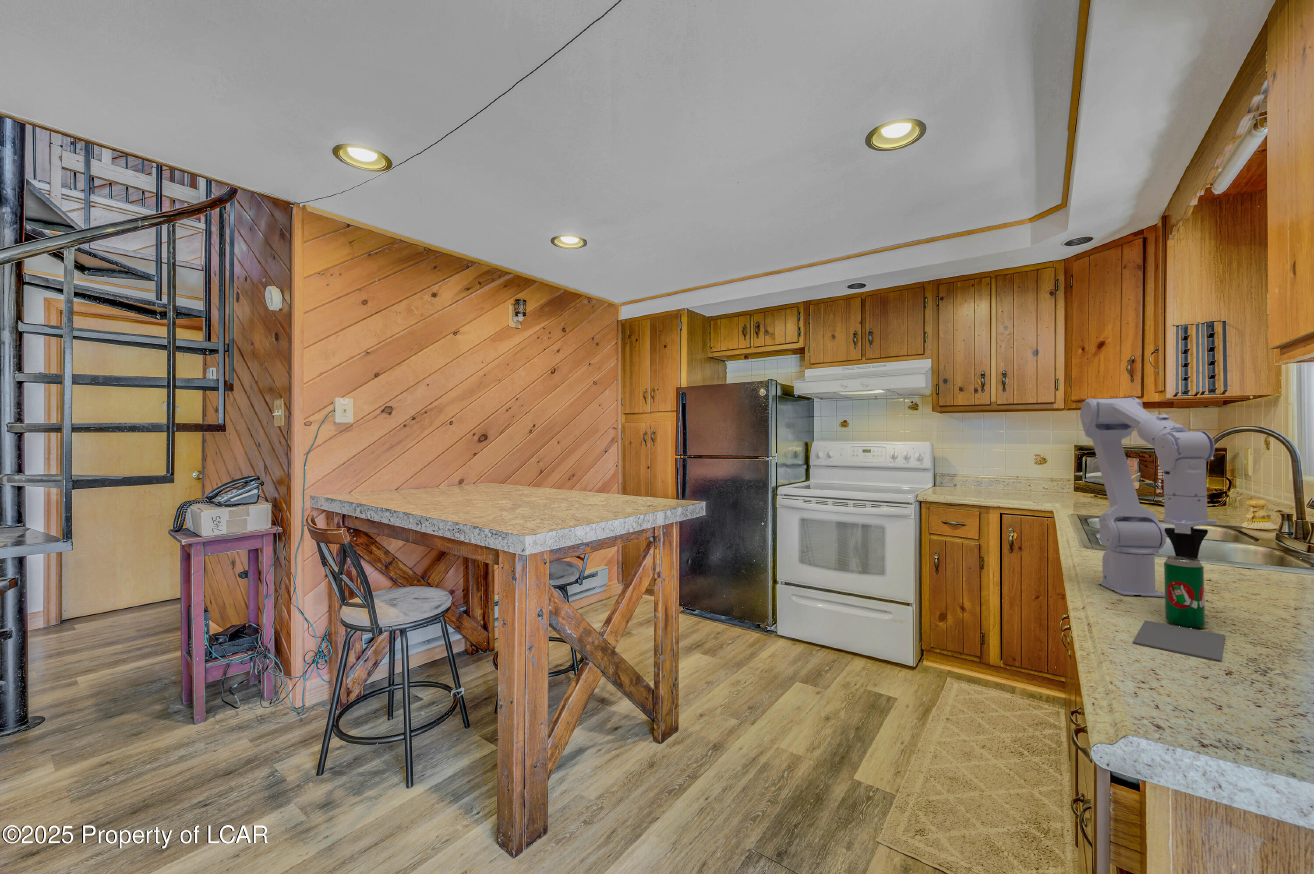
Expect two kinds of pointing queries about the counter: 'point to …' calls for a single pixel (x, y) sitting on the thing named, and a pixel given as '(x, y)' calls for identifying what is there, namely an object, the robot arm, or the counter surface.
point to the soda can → (1184, 592)
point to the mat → (1181, 640)
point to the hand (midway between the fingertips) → (1187, 567)
